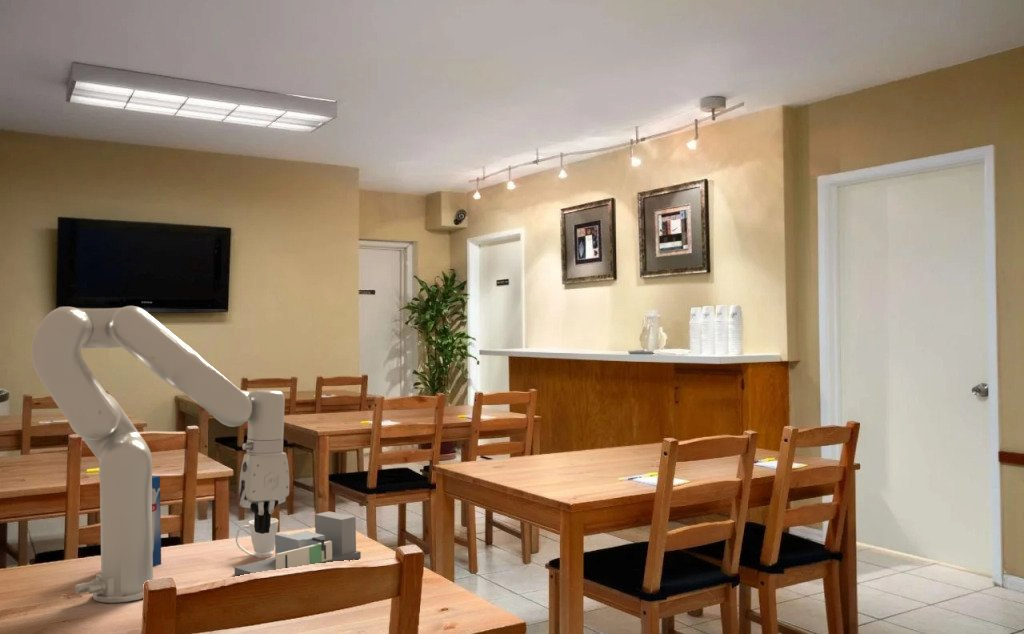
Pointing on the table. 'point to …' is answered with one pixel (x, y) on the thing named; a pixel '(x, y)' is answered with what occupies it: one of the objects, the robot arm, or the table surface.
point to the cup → (261, 539)
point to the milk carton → (156, 520)
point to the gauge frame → (315, 546)
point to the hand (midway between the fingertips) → (261, 532)
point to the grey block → (297, 541)
